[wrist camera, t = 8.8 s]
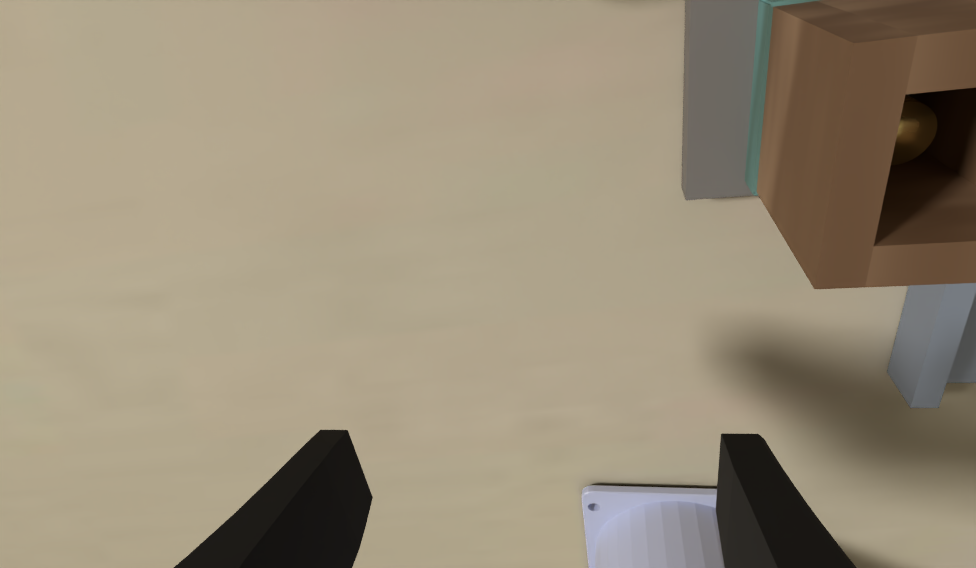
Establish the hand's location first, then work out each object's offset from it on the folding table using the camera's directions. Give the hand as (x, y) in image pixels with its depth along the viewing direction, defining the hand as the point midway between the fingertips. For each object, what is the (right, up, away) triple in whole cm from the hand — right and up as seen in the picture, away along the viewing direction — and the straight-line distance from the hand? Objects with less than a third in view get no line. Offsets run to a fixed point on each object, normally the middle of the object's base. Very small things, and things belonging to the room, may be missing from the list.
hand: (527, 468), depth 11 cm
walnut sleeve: (+9, +9, +4) cm, 13 cm away
